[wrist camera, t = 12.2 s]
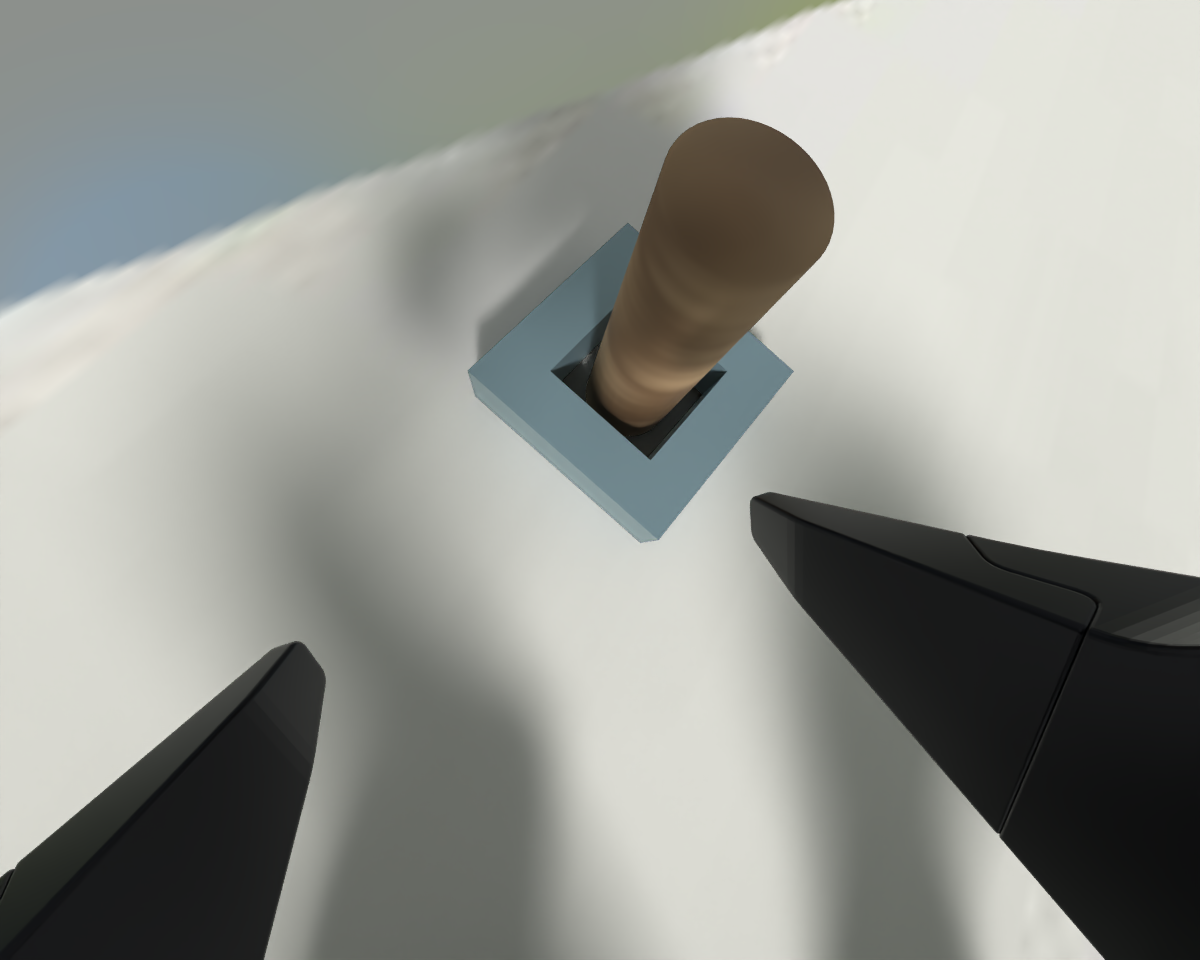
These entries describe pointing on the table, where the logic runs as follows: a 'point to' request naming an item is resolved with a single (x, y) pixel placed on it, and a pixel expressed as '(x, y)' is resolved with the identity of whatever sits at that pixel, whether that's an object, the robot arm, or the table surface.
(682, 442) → the socket block
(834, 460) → the table surface
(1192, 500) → the table surface
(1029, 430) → the table surface
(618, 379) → the walnut peg
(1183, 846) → the robot arm
